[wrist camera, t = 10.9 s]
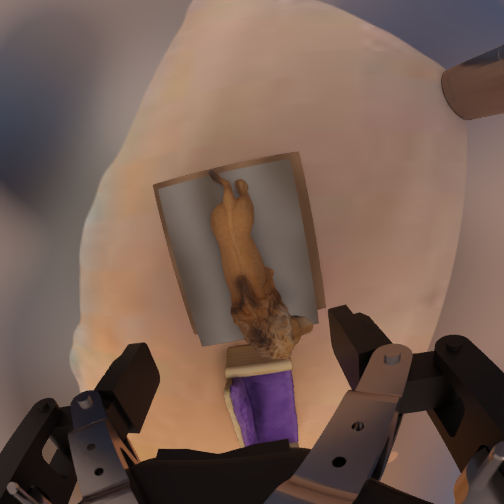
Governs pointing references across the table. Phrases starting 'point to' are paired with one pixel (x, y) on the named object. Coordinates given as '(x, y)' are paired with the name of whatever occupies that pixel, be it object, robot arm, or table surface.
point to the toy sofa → (260, 397)
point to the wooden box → (263, 234)
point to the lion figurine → (252, 278)
